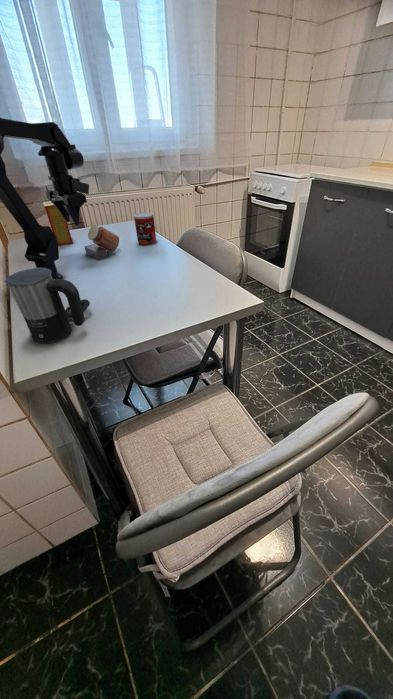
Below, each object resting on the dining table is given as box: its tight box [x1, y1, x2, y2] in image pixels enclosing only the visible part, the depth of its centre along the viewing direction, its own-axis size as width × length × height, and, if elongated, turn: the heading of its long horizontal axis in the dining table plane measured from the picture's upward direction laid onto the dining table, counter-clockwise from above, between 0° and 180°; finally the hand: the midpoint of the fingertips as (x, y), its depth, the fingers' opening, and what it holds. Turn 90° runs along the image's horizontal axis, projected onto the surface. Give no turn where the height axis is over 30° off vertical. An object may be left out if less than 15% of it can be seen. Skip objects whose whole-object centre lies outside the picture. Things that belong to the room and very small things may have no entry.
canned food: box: [133, 212, 157, 246], centre depth 121 cm, size 8×8×11 cm
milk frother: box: [4, 267, 91, 344], centre depth 70 cm, size 14×16×15 cm
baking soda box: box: [42, 200, 74, 247], centre depth 125 cm, size 10×6×16 cm
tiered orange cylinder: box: [87, 224, 120, 253], centre depth 112 cm, size 8×11×11 cm
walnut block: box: [83, 243, 109, 261], centre depth 113 cm, size 10×4×3 cm, turn 43°
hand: (72, 223), depth 103 cm, fingers open, 7 cm apart
